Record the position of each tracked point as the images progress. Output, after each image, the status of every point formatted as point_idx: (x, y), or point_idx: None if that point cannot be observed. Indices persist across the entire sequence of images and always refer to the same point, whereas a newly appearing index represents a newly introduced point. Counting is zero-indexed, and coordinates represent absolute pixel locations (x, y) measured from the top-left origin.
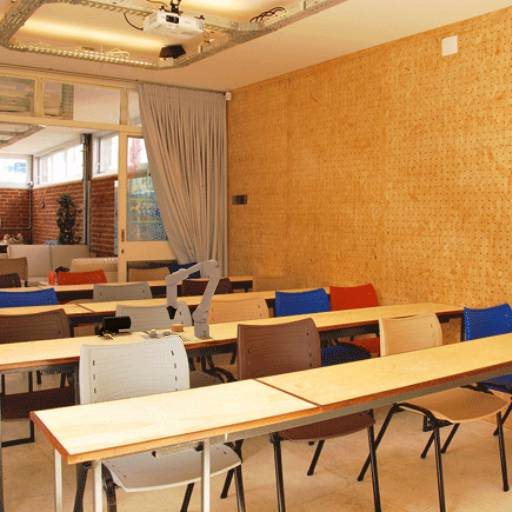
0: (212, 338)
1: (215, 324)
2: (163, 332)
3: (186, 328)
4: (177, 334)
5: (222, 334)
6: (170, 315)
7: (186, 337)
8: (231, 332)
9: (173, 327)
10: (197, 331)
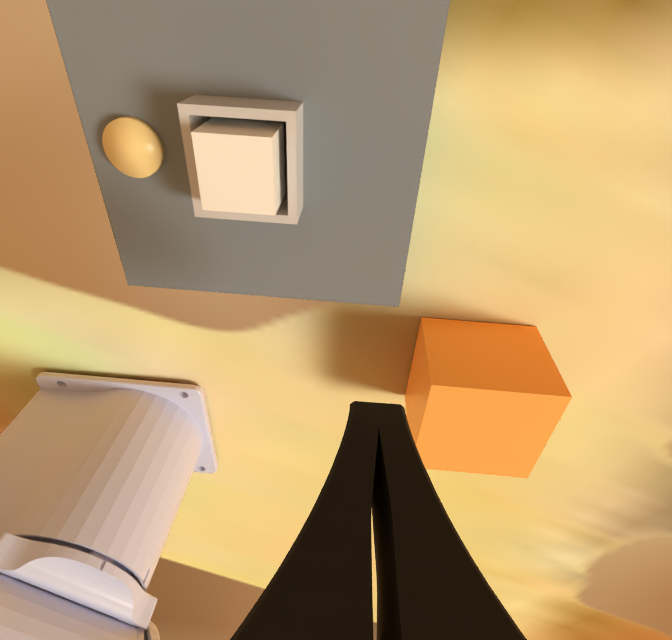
0: None
1: (532, 616)
2: (257, 107)
3: (573, 484)
4: (232, 289)
5: (198, 535)
6: (329, 479)
7: (163, 329)
8: (241, 577)
9: (467, 367)
10: (51, 438)
